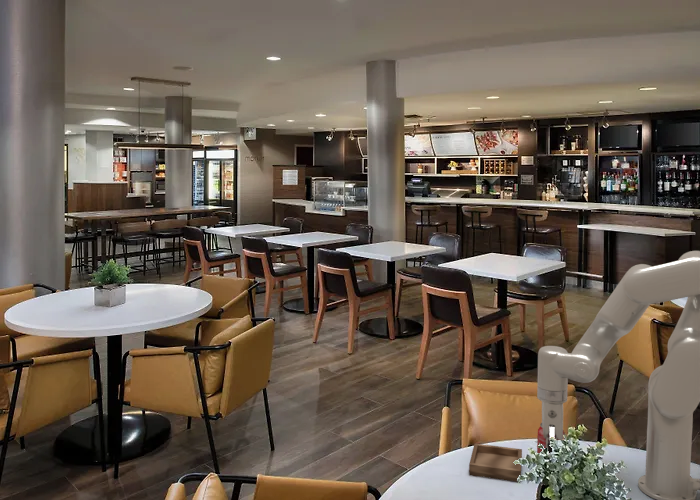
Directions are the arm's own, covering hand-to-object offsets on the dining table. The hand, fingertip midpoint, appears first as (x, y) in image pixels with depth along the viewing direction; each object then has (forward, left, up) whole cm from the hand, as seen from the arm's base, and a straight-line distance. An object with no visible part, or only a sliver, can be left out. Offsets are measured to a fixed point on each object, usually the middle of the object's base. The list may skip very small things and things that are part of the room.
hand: (550, 456), depth 152 cm
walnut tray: (+14, +4, -3) cm, 15 cm away
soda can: (0, 0, -3) cm, 3 cm away
